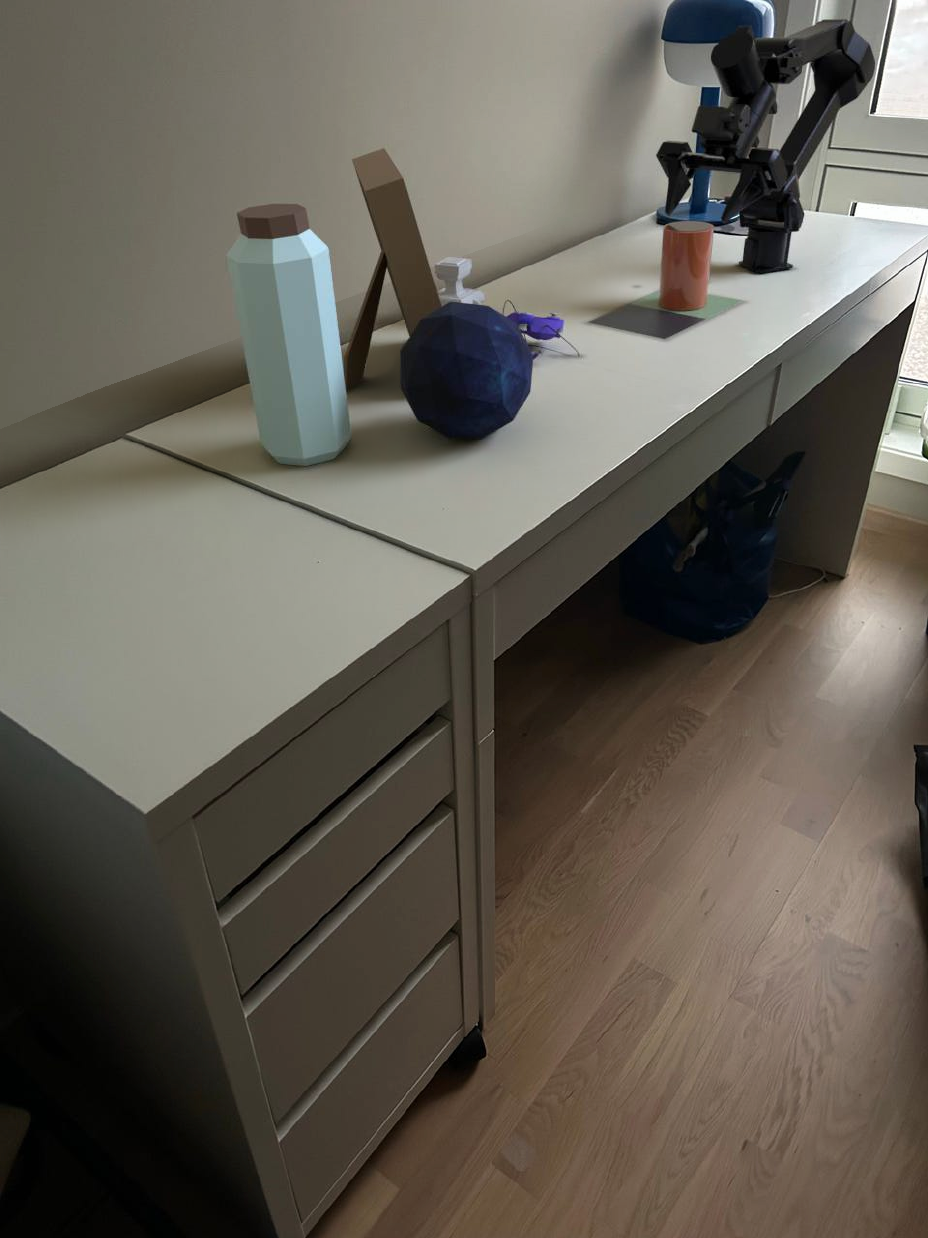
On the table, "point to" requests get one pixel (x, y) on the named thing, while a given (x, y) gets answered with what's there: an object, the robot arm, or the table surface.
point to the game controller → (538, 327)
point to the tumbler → (685, 265)
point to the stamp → (456, 282)
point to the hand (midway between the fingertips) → (694, 217)
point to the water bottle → (290, 334)
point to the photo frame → (390, 258)
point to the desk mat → (661, 316)
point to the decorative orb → (466, 370)
